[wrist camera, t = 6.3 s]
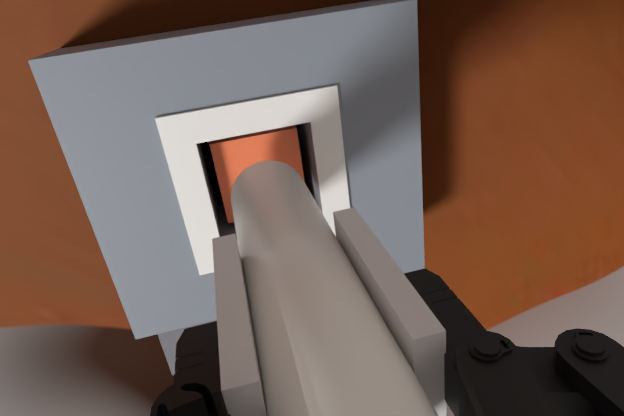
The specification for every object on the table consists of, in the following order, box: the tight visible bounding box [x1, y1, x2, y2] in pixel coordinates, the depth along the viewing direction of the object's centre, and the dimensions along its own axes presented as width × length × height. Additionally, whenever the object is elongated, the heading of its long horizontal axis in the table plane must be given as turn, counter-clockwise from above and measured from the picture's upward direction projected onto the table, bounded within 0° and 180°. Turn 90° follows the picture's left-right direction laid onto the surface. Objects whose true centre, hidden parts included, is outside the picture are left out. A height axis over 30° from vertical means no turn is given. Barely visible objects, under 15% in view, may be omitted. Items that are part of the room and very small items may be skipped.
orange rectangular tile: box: [209, 125, 305, 223], centre depth 23 cm, size 4×4×1 cm
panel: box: [28, 0, 425, 339], centre depth 24 cm, size 16×14×5 cm
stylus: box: [231, 160, 439, 416], centre depth 13 cm, size 4×4×18 cm
